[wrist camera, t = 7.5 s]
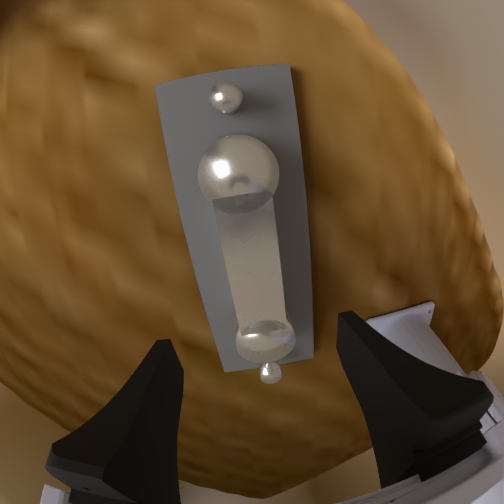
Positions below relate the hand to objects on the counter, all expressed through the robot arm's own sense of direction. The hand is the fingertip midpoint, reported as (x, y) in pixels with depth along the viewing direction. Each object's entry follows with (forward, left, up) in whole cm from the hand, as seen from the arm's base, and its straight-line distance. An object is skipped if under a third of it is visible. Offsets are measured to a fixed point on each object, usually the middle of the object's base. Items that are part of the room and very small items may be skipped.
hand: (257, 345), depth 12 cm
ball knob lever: (+1, 0, -8) cm, 8 cm away
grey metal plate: (+1, 0, -9) cm, 9 cm away
